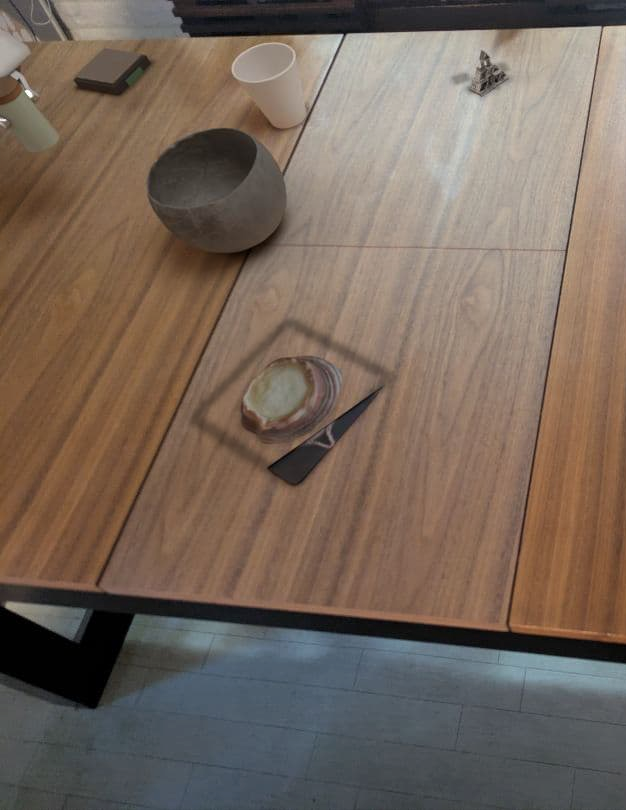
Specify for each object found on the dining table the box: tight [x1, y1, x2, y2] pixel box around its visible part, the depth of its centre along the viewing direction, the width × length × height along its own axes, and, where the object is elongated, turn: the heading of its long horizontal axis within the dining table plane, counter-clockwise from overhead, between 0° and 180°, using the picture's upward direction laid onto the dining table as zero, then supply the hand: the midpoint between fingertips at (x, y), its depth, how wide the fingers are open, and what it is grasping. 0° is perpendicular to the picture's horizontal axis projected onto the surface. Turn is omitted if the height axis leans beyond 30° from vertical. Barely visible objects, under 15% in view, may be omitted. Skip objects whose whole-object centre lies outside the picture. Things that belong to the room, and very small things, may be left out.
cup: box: [230, 41, 307, 130], centre depth 133 cm, size 12×12×12 cm
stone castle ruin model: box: [469, 49, 510, 97], centre depth 136 cm, size 9×9×8 cm
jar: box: [0, 76, 60, 153], centre depth 115 cm, size 6×6×10 cm
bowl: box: [145, 127, 288, 254], centre depth 117 cm, size 20×20×15 cm
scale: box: [73, 47, 152, 96], centre depth 150 cm, size 11×11×3 cm
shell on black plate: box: [240, 355, 385, 485], centre depth 102 cm, size 21×20×4 cm
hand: (22, 114), depth 115 cm, fingers closed on jar, 5 cm apart
